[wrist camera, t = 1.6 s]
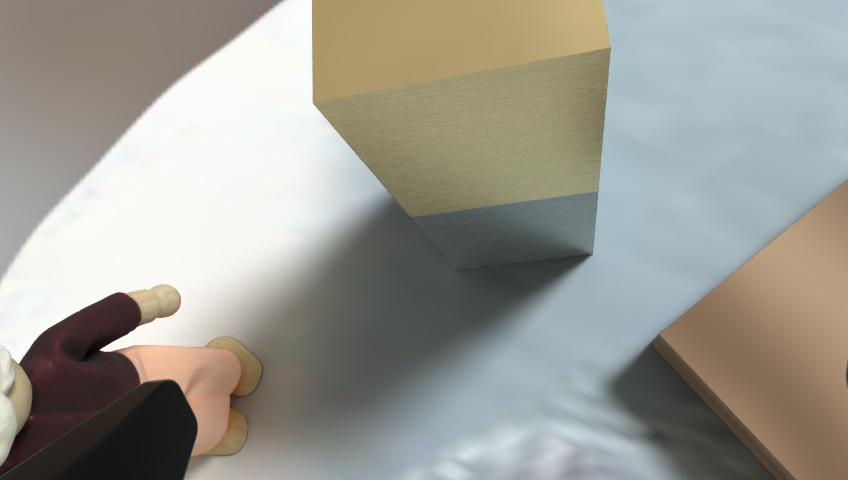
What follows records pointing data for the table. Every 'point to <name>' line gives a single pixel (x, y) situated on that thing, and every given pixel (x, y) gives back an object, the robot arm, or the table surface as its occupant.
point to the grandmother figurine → (118, 377)
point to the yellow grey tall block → (473, 116)
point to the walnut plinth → (778, 348)
